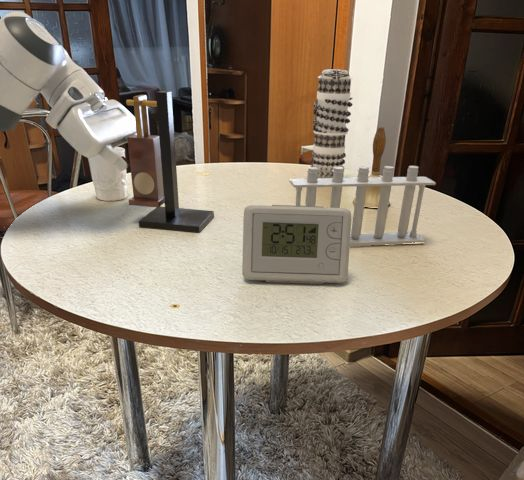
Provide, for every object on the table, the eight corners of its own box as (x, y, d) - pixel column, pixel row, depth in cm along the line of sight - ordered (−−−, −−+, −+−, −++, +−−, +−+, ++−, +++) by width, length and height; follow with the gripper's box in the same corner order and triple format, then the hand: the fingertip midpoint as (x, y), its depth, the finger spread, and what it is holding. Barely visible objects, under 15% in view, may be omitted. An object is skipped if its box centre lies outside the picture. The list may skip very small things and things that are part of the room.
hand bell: (390, 210, 110) (403, 131, 102) (352, 207, 112) (361, 128, 103) (389, 199, 117) (401, 124, 109) (353, 197, 119) (361, 122, 110)
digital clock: (237, 282, 77) (236, 212, 72) (251, 260, 85) (252, 195, 79) (344, 294, 74) (352, 223, 69) (349, 271, 82) (357, 205, 76)
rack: (129, 226, 98) (113, 92, 85) (149, 211, 106) (137, 87, 94) (199, 232, 96) (193, 96, 83) (214, 216, 104) (210, 90, 92)
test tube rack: (414, 236, 97) (428, 163, 90) (424, 244, 93) (439, 169, 86) (285, 240, 93) (289, 165, 86) (290, 249, 90) (294, 171, 82)
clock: (128, 205, 98) (116, 96, 88) (139, 198, 102) (128, 93, 92) (158, 207, 97) (149, 98, 87) (167, 200, 101) (159, 95, 91)
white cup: (101, 191, 118) (94, 145, 112) (134, 193, 117) (129, 147, 112) (88, 200, 111) (80, 152, 106) (123, 202, 111) (117, 154, 105)
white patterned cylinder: (351, 181, 131) (363, 70, 117) (330, 188, 125) (341, 72, 111) (322, 175, 136) (331, 68, 122) (301, 181, 130) (307, 69, 116)
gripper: (97, 108, 102) (148, 162, 106) (39, 123, 85) (102, 187, 89) (115, 84, 99) (167, 140, 103) (59, 94, 82) (123, 162, 86)
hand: (136, 162), depth 96 cm, fingers open, 8 cm apart
